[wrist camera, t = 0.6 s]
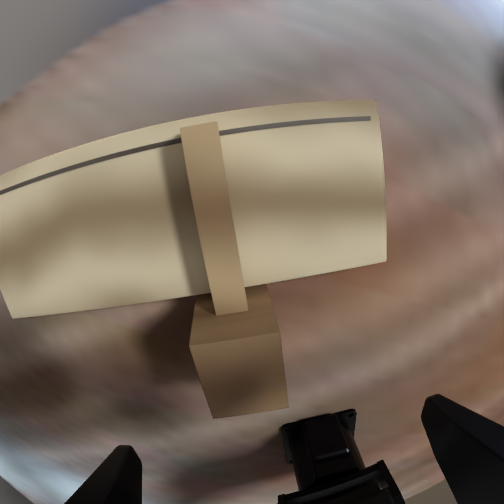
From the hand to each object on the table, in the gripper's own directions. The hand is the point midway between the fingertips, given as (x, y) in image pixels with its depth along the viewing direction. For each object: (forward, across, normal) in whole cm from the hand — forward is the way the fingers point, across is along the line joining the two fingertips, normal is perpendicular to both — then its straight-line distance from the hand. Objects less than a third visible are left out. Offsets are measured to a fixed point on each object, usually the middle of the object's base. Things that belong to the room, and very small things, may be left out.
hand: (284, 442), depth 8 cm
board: (+12, +4, -5) cm, 14 cm away
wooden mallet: (+12, +1, +2) cm, 12 cm away
